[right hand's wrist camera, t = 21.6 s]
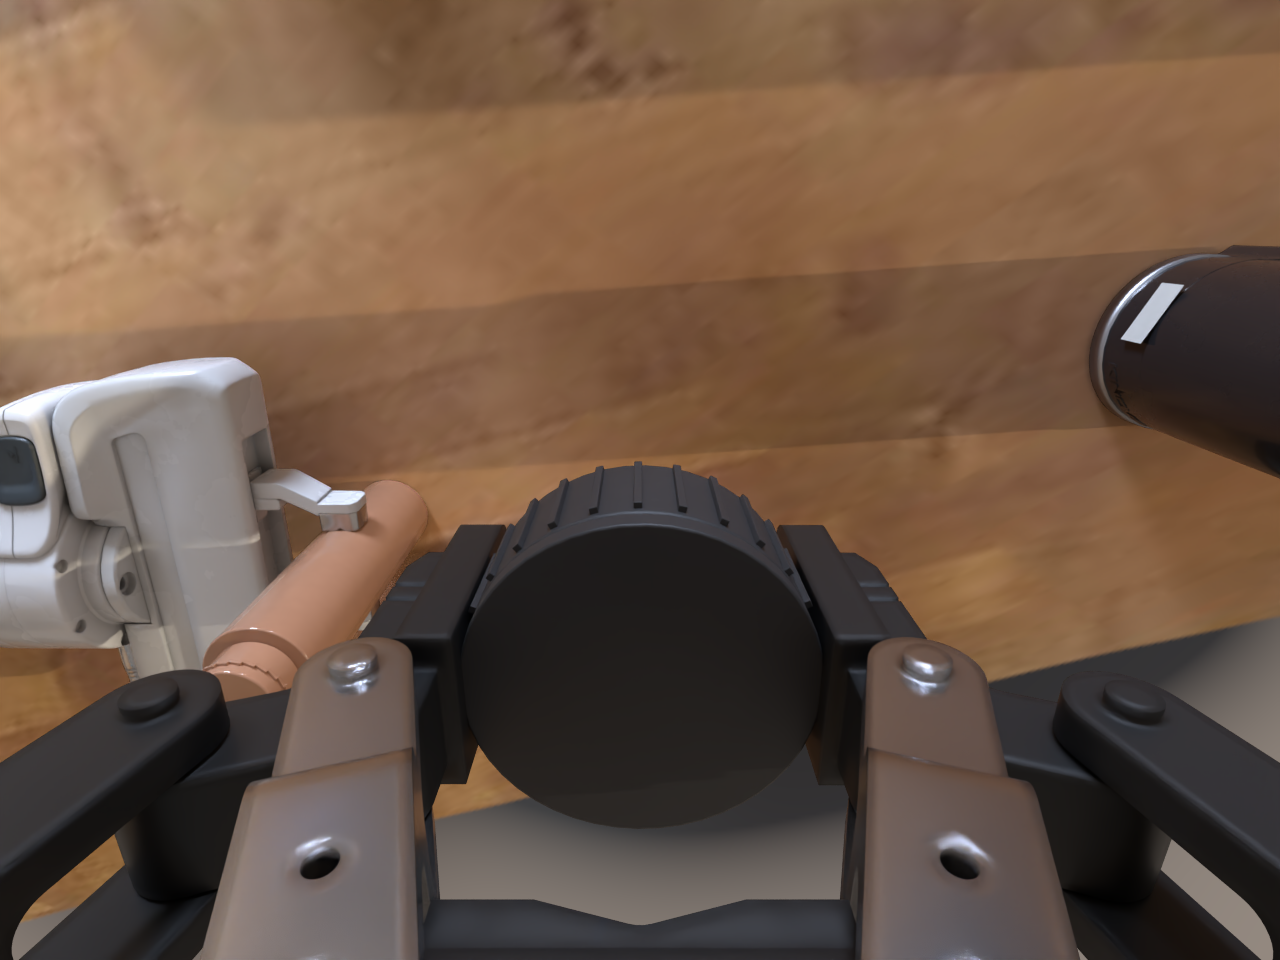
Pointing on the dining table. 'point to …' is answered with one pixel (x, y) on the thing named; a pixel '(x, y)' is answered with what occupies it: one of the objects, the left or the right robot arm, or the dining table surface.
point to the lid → (641, 650)
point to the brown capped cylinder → (318, 596)
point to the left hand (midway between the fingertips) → (370, 560)
